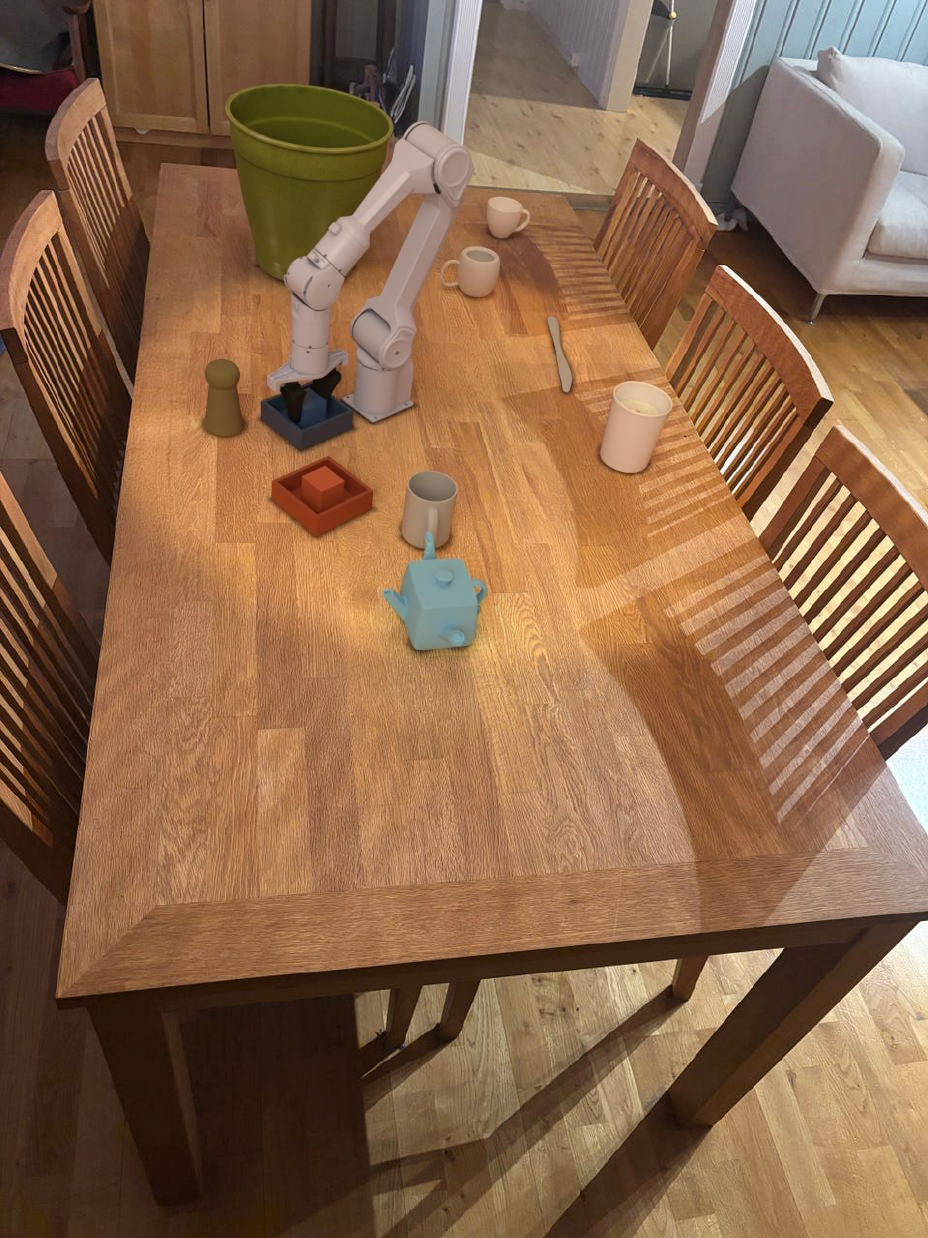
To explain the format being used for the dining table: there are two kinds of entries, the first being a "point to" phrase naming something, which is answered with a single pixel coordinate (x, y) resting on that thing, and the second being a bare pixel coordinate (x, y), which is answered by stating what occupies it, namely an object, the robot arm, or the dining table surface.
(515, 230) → the cup
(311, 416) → the blue block
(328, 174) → the plant pot
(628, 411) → the candle holder
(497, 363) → the dining table surface
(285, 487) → the terracotta bin
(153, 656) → the dining table surface
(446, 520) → the cup
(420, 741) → the dining table surface
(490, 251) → the mug
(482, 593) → the teapot
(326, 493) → the terracotta block
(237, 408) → the pepper mill
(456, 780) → the dining table surface
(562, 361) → the butter knife
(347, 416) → the blue bin
